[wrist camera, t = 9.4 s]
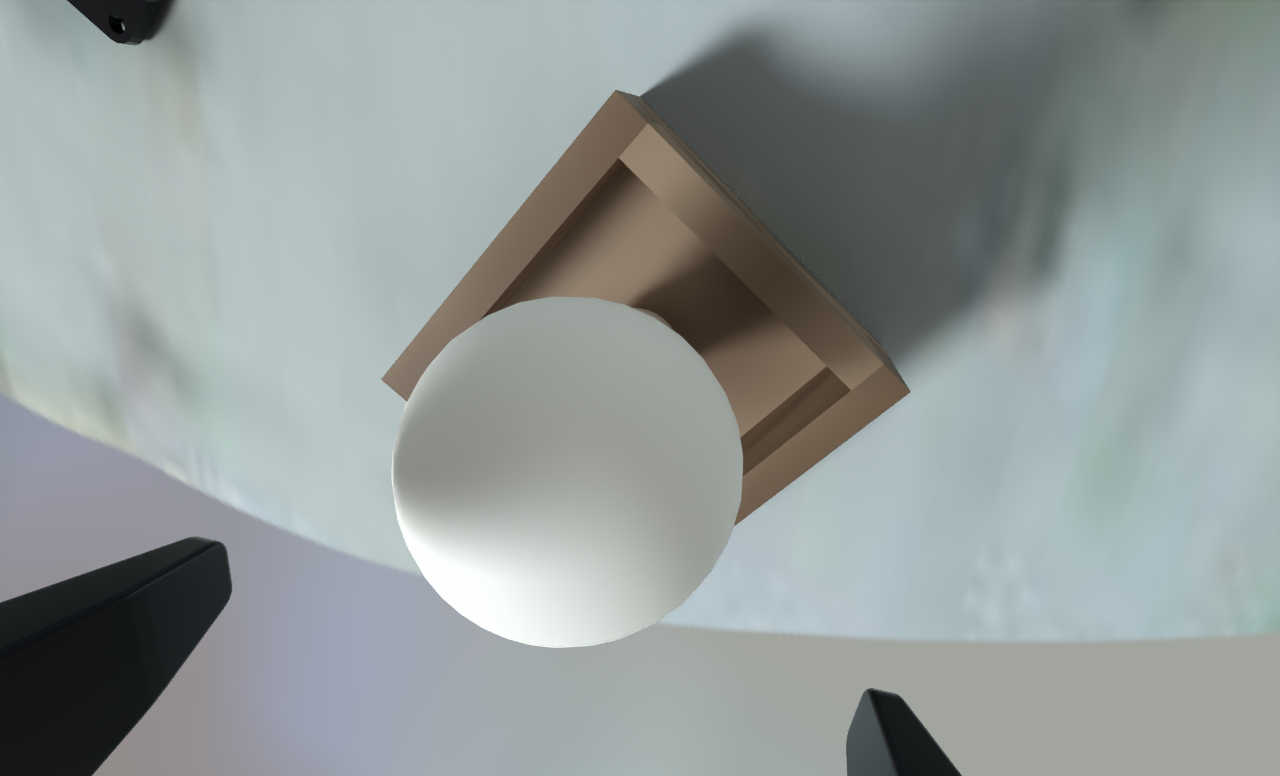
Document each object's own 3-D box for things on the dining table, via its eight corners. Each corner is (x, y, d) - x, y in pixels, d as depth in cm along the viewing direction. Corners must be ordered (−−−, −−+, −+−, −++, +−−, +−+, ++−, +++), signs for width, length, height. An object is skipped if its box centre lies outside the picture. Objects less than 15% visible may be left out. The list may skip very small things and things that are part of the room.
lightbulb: (501, 324, 19) (227, 517, 9) (654, 191, 17) (522, 250, 7) (628, 470, 20) (510, 789, 10) (786, 362, 18) (838, 627, 8)
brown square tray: (436, 340, 21) (381, 379, 18) (639, 96, 17) (615, 90, 14) (653, 531, 23) (638, 598, 19) (882, 346, 19) (910, 392, 16)
